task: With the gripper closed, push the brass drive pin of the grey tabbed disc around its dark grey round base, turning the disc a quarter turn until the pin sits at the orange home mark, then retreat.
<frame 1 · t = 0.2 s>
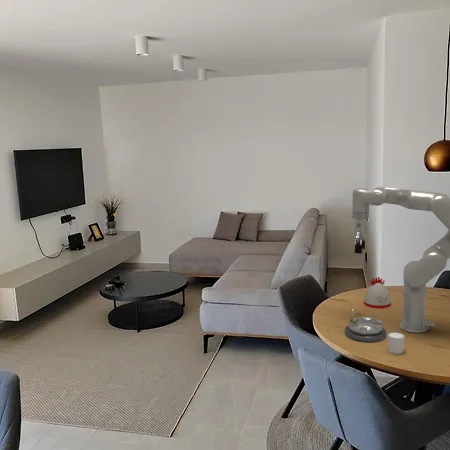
hand: (359, 250, 228), 36 cm above the table, tool pointing down, fingers open, 9 cm apart
dark grey round base: (365, 334, 220), on the table
grey tabbed disc: (365, 319, 219), point 7 cm above the table, hinge at 0.0°
grey white-topped cylinder: (395, 351, 202), on the table
white crested helmet: (377, 304, 259), on the table
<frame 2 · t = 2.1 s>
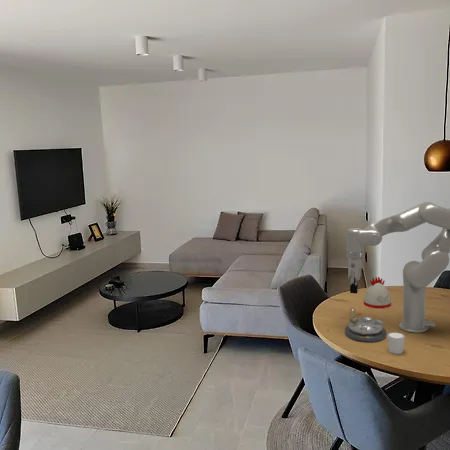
hand: (353, 292, 227), 17 cm above the table, tool pointing down, fingers closed
nothing on the table moved.
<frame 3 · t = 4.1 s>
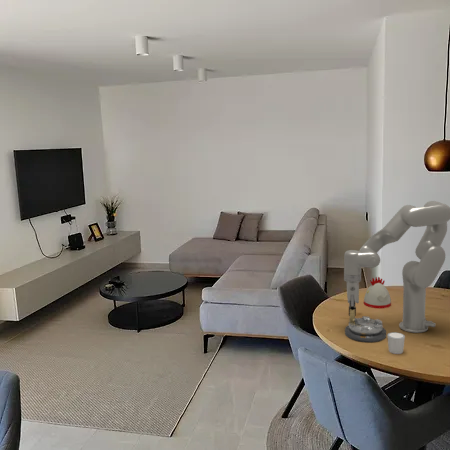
hand: (352, 315, 225), 7 cm above the table, tool pointing down, fingers closed
grey tabbed disc: (365, 319, 219), point 7 cm above the table, hinge at 5.0°, touching gripper
everything else where it was.
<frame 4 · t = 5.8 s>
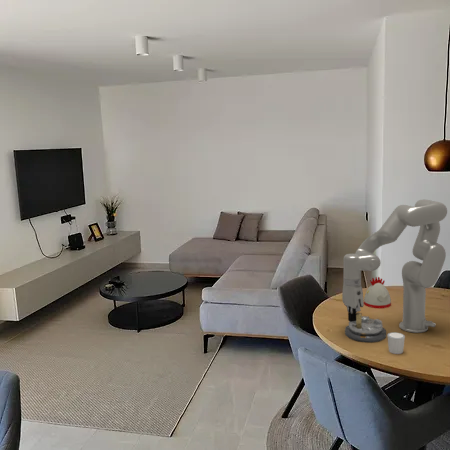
hand: (352, 320, 218), 7 cm above the table, tool pointing down, fingers closed
grey tabbed disc: (365, 319, 219), point 7 cm above the table, hinge at 67.6°, touching gripper
everything else where it was.
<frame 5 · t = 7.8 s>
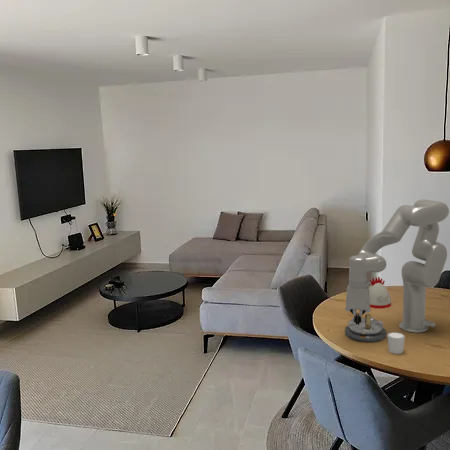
hand: (357, 323, 214), 7 cm above the table, tool pointing down, fingers closed
grey tabbed disc: (365, 319, 219), point 7 cm above the table, hinge at 107.1°
everything else where it was.
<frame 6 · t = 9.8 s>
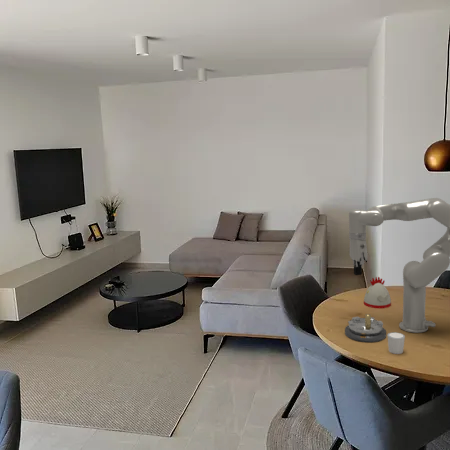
hand: (357, 274, 226), 25 cm above the table, tool pointing down, fingers closed
nothing on the table moved.
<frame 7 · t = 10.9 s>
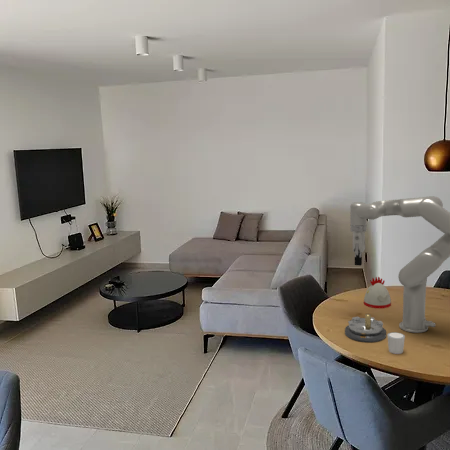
hand: (358, 264, 236), 27 cm above the table, tool pointing down, fingers closed
nothing on the table moved.
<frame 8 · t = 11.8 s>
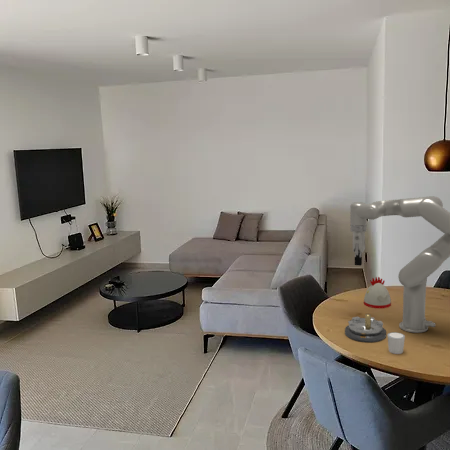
hand: (358, 264, 236), 27 cm above the table, tool pointing down, fingers closed
nothing on the table moved.
at the end: grey tabbed disc at +107° (first picture: +0°) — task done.
